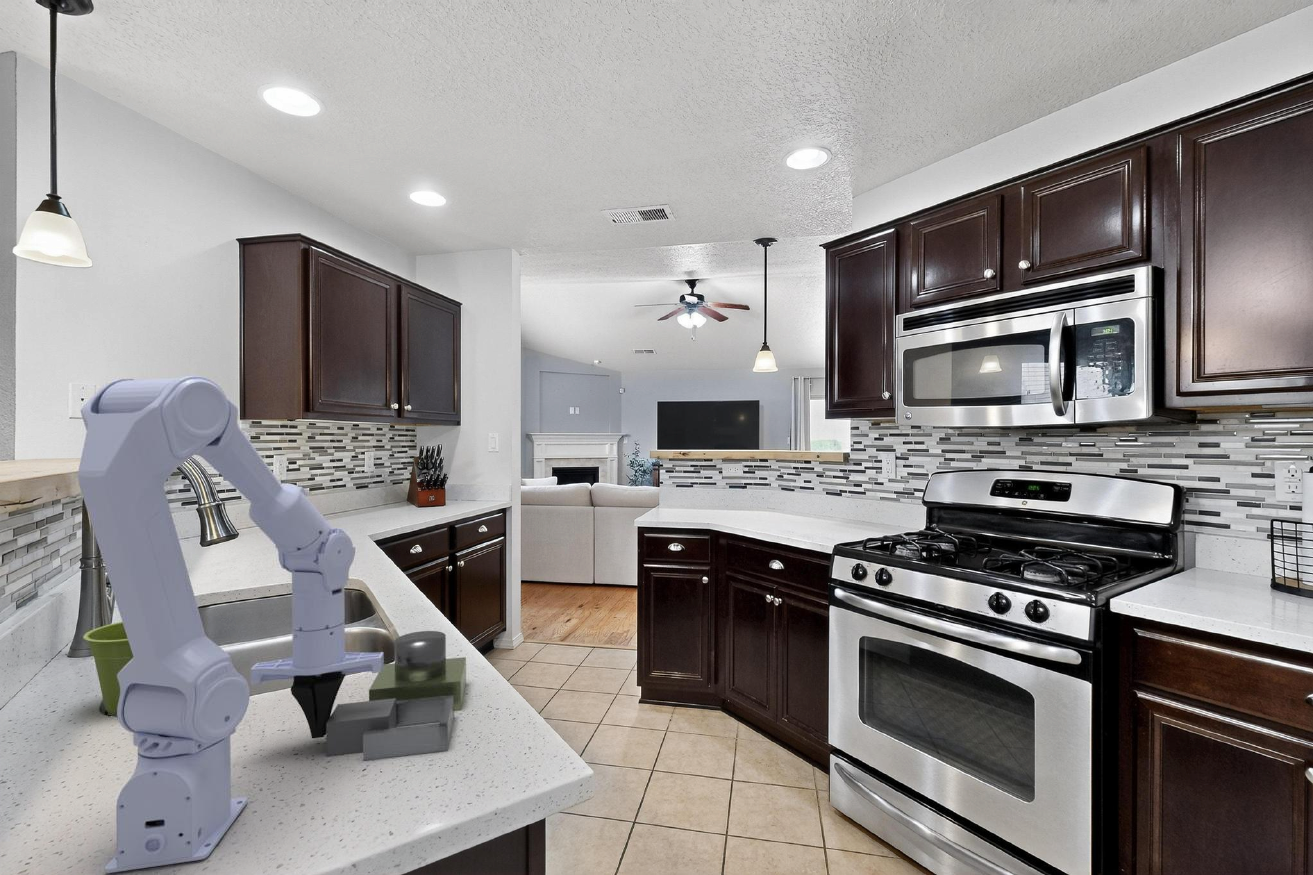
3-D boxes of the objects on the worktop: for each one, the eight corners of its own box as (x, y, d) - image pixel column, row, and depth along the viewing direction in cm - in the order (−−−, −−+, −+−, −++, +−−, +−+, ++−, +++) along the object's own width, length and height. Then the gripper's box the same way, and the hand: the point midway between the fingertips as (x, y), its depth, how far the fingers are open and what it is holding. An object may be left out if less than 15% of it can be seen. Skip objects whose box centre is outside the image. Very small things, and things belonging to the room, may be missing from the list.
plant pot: (64, 728, 83) (64, 644, 83) (109, 694, 94) (109, 620, 94) (170, 715, 87) (170, 634, 87) (201, 684, 98) (201, 612, 98)
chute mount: (453, 749, 76) (452, 676, 76) (347, 762, 73) (346, 685, 73) (466, 682, 97) (465, 625, 97) (383, 690, 94) (383, 631, 95)
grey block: (389, 748, 77) (388, 715, 77) (326, 756, 75) (326, 722, 75) (396, 728, 82) (395, 698, 82) (338, 735, 80) (337, 704, 80)
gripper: (387, 611, 83) (388, 713, 83) (265, 620, 79) (266, 726, 79) (376, 626, 76) (378, 738, 76) (242, 637, 72) (243, 753, 72)
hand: (320, 734), depth 77 cm, fingers closed
